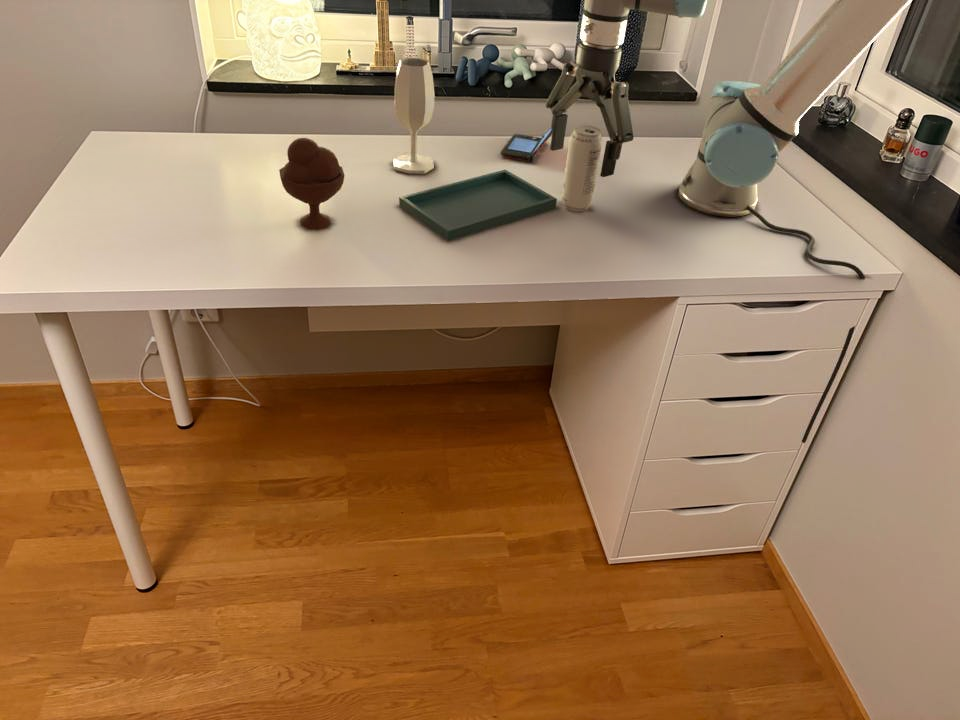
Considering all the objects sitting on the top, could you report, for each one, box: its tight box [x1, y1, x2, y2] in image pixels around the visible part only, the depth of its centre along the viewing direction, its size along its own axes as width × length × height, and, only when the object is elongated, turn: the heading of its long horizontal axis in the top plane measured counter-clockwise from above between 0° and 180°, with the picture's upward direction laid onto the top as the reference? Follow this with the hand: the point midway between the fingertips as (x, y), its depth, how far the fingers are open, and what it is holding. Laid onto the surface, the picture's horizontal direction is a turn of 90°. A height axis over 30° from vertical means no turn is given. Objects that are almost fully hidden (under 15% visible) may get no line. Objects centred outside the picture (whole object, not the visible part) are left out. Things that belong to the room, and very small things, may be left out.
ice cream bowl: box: [278, 137, 345, 231], centre depth 130 cm, size 11×11×15 cm
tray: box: [398, 169, 558, 242], centre depth 143 cm, size 16×26×2 cm, turn 128°
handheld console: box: [500, 127, 553, 163], centre depth 165 cm, size 12×11×7 cm
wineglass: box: [392, 57, 436, 175], centre depth 151 cm, size 9×9×21 cm
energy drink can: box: [560, 124, 603, 212], centre depth 143 cm, size 6×6×15 cm
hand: (580, 161), depth 142 cm, fingers open, 13 cm apart
